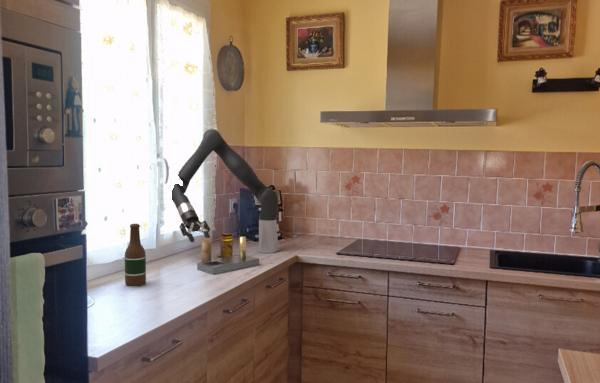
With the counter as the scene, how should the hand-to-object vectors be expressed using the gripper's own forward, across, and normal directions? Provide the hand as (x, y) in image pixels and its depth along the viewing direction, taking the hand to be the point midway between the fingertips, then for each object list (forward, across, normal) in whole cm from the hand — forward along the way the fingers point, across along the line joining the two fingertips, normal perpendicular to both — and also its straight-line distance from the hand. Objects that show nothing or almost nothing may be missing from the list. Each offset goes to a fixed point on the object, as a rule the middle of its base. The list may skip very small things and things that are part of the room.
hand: (201, 240), depth 224 cm
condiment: (+6, +15, +9) cm, 19 cm away
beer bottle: (+18, -40, -3) cm, 44 cm away
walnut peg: (+11, 0, +4) cm, 11 cm away
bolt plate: (+19, +4, -4) cm, 20 cm away
